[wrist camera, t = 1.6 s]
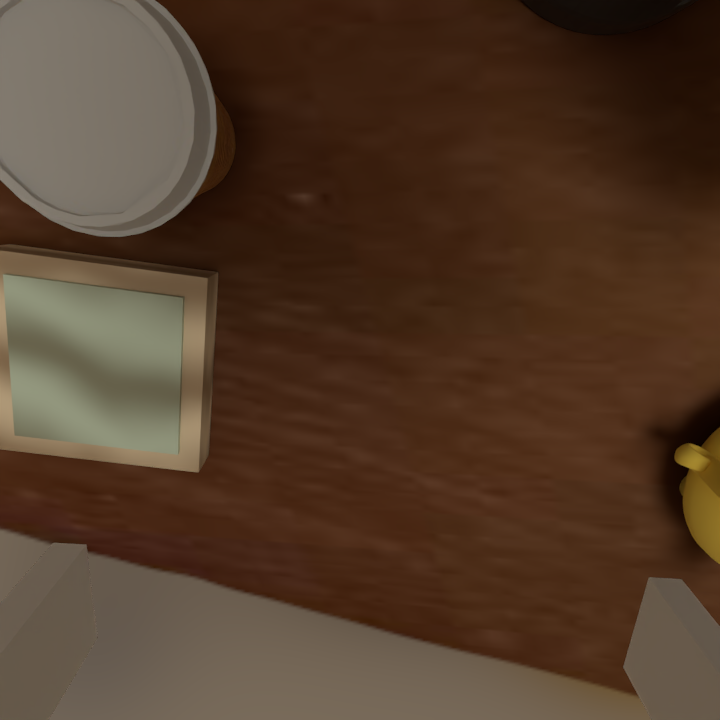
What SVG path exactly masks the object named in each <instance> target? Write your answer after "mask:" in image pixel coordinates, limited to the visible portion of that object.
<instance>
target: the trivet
mask: <svg viewBox="0 0 720 720" xmlns="http://www.w3.org/2000/svg"><path fill="white" fill-rule="evenodd" d="M217 291H218V272H215V271H207V270H200V269H192V268H185V267H177V266H170V265H162V264H155V263H147V262H140V261H132V260H125V259H118V258H110V257H103V256H95V255H88V254H80V253H73V252H65V251H58V250H50V249H43V248H35V247H28V246H20V245H13V244H6V245H0V449H2V450H11V451H19V452H28V453H36V454H45V455H54V456H62V457H71V458H79V459H88V460H96V461H105V462H113V463H122V464H130V465H139V466H148V467H156V468H165V469H173V470H182V471H190V472H199V471H200V469H201V467H202V466H203V464H204V462H205V460H206V459H207V457H208V455H209V442H210V423H211V404H212V385H213V366H214V347H215V329H216V310H217Z"/></svg>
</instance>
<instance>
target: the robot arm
mask: <svg viewBox="0 0 720 720" xmlns="http://www.w3.org/2000/svg"><path fill="white" fill-rule="evenodd" d="M522 1H523V2H524V3H525V4H526V5H527V6H528V7H529V8H530V9H532V10H533V11H534V12H536V13H537V14H538V15H540V16H541V17H543V18H545V19H546V20H548V21H550V22H552V23H554V24H556V25H558V26H560V27H563V28H566V29H569V30H572V31H575V32H580V33H585V34H594V35H613V34H622V33H628V32H632V31H636V30H640V29H643V28H646V27H649V26H651V25H654V24H656V23H658V22H660V21H663V20H665V19H667V18H668V17H670V16H672V15H674V14H675V13H677V12H679V11H681V10H682V9H684V8H686V7H688V6H689V5H691V4H693V3H695V2H696V1H698V0H522ZM97 638H98V636H97V629H96V620H95V612H94V604H93V596H92V587H91V579H90V572H89V563H88V555H87V547H86V545H82V544H65V543H52V545H51V546H50V547H49V548H48V549H47V550H46V551H45V553H44V554H43V555H42V556H41V557H40V558H39V559H38V561H37V562H36V563H35V564H34V565H33V566H32V567H31V569H30V570H29V571H28V572H27V573H26V574H25V575H24V576H23V578H22V579H21V580H20V581H19V582H18V583H17V584H16V585H15V587H14V588H13V589H12V590H11V591H10V592H9V593H8V595H7V596H6V597H5V598H4V599H3V600H2V601H1V603H0V720H49V719H50V717H51V715H52V714H53V712H54V710H55V708H56V707H57V705H58V704H59V702H60V700H61V698H62V697H63V695H64V693H65V692H66V690H67V688H68V687H69V685H70V683H71V682H72V680H73V678H74V677H75V675H76V673H77V671H78V670H79V668H80V667H81V665H82V663H83V662H84V660H85V658H86V657H87V655H88V653H89V651H90V650H91V648H92V646H93V645H94V643H95V641H96V639H97ZM623 668H624V670H625V672H626V673H627V675H628V677H629V679H630V681H631V683H632V685H633V686H634V688H635V690H636V692H637V694H638V696H639V698H640V700H641V701H642V703H643V705H644V707H645V709H646V710H647V713H648V714H649V716H650V718H651V720H720V626H719V625H718V624H717V623H716V621H715V620H714V619H713V618H712V616H711V615H710V614H709V613H708V611H707V610H706V609H705V608H704V607H703V605H702V604H701V603H700V602H699V600H698V599H697V598H696V597H695V595H694V594H693V593H692V592H691V590H690V589H689V588H688V587H687V585H686V584H685V583H684V582H683V580H682V579H670V578H653V577H649V579H648V582H647V586H646V589H645V593H644V596H643V600H642V603H641V607H640V610H639V614H638V617H637V621H636V624H635V628H634V631H633V635H632V638H631V642H630V645H629V649H628V652H627V656H626V659H625V663H624V666H623Z"/></svg>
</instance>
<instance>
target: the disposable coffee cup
mask: <svg viewBox="0 0 720 720" xmlns="http://www.w3.org/2000/svg"><path fill="white" fill-rule="evenodd" d="M235 149H236V144H235V132H234V127H233V124H232V121H231V119H230V116H229V114H228V112H227V111H226V109H225V107H224V106H223V104H222V103H221V102H220V100H219V99H218V97H217V95H216V94H215V92H214V91H213V88H212V85H211V82H210V79H209V75H208V72H207V69H206V67H205V65H204V63H203V60H202V58H201V56H200V54H199V52H198V50H197V48H196V46H195V44H194V43H193V41H192V40H191V38H190V37H189V36H188V34H187V33H186V31H185V30H184V29H183V28H182V26H181V25H180V24H179V23H178V22H177V21H176V19H175V18H174V17H173V16H172V15H171V14H170V13H169V12H168V11H167V9H166V8H164V7H163V6H162V5H160V4H159V3H158V2H157V1H155V0H0V180H1V181H2V182H3V183H4V184H5V185H6V186H7V187H8V188H9V189H10V190H11V191H12V192H13V193H14V194H15V195H17V196H18V197H19V198H20V199H21V200H22V201H23V202H25V203H27V204H28V205H30V206H31V207H33V208H34V209H35V210H37V211H38V212H40V213H41V214H42V215H44V216H45V217H47V218H48V219H50V220H52V221H54V222H56V223H58V224H60V225H62V226H65V227H67V228H69V229H71V230H73V231H78V232H82V233H86V234H91V235H95V236H106V237H123V236H129V235H135V234H140V233H143V232H146V231H148V230H151V229H153V228H156V227H158V226H160V225H162V224H164V223H165V222H167V221H168V220H170V219H171V218H173V217H175V216H176V215H177V214H178V213H179V212H180V211H182V210H183V209H184V208H185V207H186V206H187V205H188V204H189V203H190V202H191V201H192V199H193V198H195V197H197V196H199V195H200V194H202V193H204V192H206V191H209V190H211V189H212V188H214V187H215V186H217V185H218V184H219V183H220V182H221V181H222V180H223V179H224V178H225V176H226V175H227V173H228V171H229V170H230V168H231V165H232V163H233V160H234V155H235Z"/></svg>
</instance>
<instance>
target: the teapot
mask: <svg viewBox="0 0 720 720" xmlns="http://www.w3.org/2000/svg"><path fill="white" fill-rule="evenodd" d="M674 458H675V461H676V462H677V463H679V464H680V465H682V466H685V467H687V468H689V471H688V474H687V476H686V477H685V478H684V479H683V480H682V481H681V483H680V487H679V490H680V493H681V495H682V496H683V512H684V516H685V520H686V523H687V526H688V528H689V530H690V533H691V535H692V537H693V538H694V540H695V541H696V543H697V544H698V545H699V546H700V547H701V548H702V549H703V550H704V551H705V552H706V553H707V554H708V555H709V556H710V557H711V558H712V559H713V560H715V561H716V562H717V563H719V564H720V427H719V428H718V429H717V430H716V431H714V432H713V433H712V434H711V435H710V436H709V438H708V439H707V440H706V441H705V442H704V443H703V445H702V446H701V447H699V446H697V445H695V444H691V443H686V444H683V445H681V446H680V447H678V448H677V449H676V452H675V456H674Z"/></svg>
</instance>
